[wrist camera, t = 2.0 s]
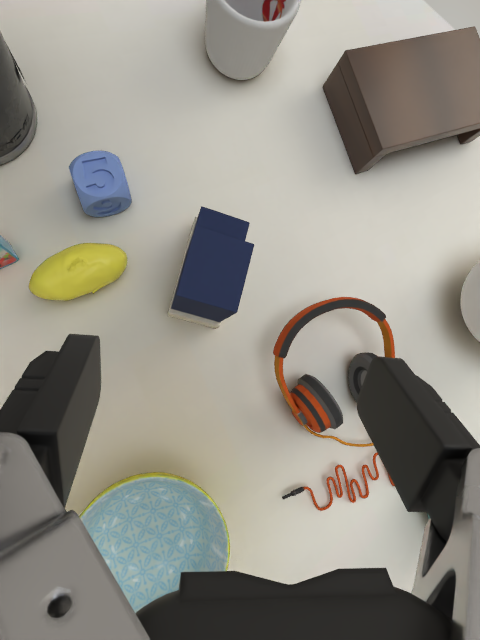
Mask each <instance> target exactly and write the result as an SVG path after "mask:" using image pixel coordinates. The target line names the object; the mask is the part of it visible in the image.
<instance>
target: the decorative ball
mask: <svg viewBox="0 0 480 640" xmlns="http://www.w3.org/2000/svg"><path fill="white" fill-rule="evenodd" d="M461 311H462V316H463V319H464V321H465V324H466V326H467V327H468V329H469V331H470V332H471V333H472V335H473V336H474V337H475V338H476V339H477V340H478V341H479V342H480V260H479V261H478V262H477V263H476V264H475V265H474V267H473V268H472V269H471V271H470V272H469V274H468V275H467V277H466V279H465V282H464V284H463V288H462V292H461Z"/></svg>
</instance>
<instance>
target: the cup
mask: <svg viewBox="0 0 480 640" xmlns="http://www.w3.org/2000/svg"><path fill="white" fill-rule="evenodd" d="M300 3H301V0H206V19H205V45H206V50H207V54H208V56H209V58H210V60H211V62H212V63H213V65H214V66H215V67H216V68H217V69H218V70H219V71H220V72H221V73H222V74H224V75H226V76H228V77H230V78H233V79H237V80H247V79H251V78H253V77H255V76H257V75H259V74H260V73H261V72H262V71H263V70H264V69H265V68H266V67H267V65H268V64H269V62H270V60H271V59H272V57H273V55H274V53H275V52H276V50H277V48H278V46H279V44H280V43H281V41H282V39H283V37H284V35H285V34H286V32H287V30H288V28H289V26H290V25H291V23H292V21H293V19H294V17H295V16H296V14H297V12H298V9H299V7H300Z"/></svg>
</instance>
